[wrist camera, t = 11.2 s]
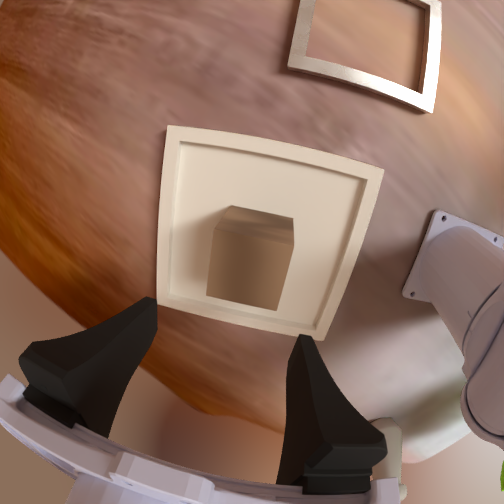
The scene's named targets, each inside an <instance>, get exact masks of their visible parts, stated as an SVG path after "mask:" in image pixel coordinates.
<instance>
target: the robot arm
mask: <svg viewBox="0 0 504 504" xmlns="http://www.w3.org/2000/svg"><path fill="white" fill-rule="evenodd" d="M442 216H444V219H443V220H442ZM494 238H495V239H494ZM503 244H504V238H503V237H502V236H501V235H498V234H496V233H494V232H492V231H490V230H488V229H485V228H483V227H481V226H478V225H476V224H474V223H471V222H469V221H467V220H464V219H462V218H459V217H457V216H455V215H452V214H449V213H447V212H444V211H442V210H435V211H434V213H433V215H432V218H431V221H430V224H429V227H428V230H427V232H426V235H425V238H424V240H423V243H422V246H421V248H420V251H419V253H418V256H417V258H416V261H415V263H414V265H413V268H412V270H411V272H410V275H409V277H408V279H407V281H406V283H405V286H404V288H403V290H402V295H403V296H404V297H405V298H409V299H414V300H419V301H424V302H429V303H432V304H433V306H434V307H435V309H436V310H437V312H438V313H439V315H440V317H441V318H442V320H443V321H444V323H445V325H446V326H447V328H448V330H449V331H450V333H451V335H452V336H453V338H454V340H455V342H456V343H457V345H458V347H459V349H460V350H461V352H462V354H463V356H464V358H465V362H464V365H463V367H462V370H463V372H464V374H465V376H466V378H467V380H468V381H467V382H466V384H465V385H464V387H463V390H462V393H461V400H460V404H461V411H462V414H463V417H464V419H465V421H466V423H467V425H468V426H469V428H470V429H471V430H472V431H473V432H474V433H475V434H476V435H477V436H478V437H480V438H481V439H483V440H485V441H488V442H491V443H493V444H495V445H497V446H499V447H500V448H501V449H503V451H504V250H503V249H502V247H503ZM411 292H413V294H411ZM157 330H158V327H157V299H153V298H150V297H147V296H146V297H145V298H143V299H141V300H140V301H138V302H137V303H135V304H133V305H132V306H130V307H129V308H127V309H125V310H124V311H122V312H120V313H119V314H117V315H115V316H114V317H112V318H110V319H108V320H106V321H104V322H103V323H100V324H98V325H96V326H94V327H92V328H89V329H87V330H84V331H81V332H78V333H75V334H72V335H69V336H65V337H61V338H57V339H51V340H45V341H36V342H32V343H31V344H30V345H29V346H28V348H27V349H26V350H25V351H24V352H23V353H22V354H21V355H20V357H19V365H20V367H21V369H22V371H23V373H24V375H25V376H26V378H27V380H28V382H29V385H28V387H27V388H26V386H25V385H24V384H23V383H21V382H20V381H19V380H17V379H16V378H15V377H13V376H12V375H11V374H7V376H6V377H5V378H4V379H3V380H2V382H1V383H0V423H1V424H2V426H3V427H4V428H5V429H6V430H7V431H8V432H10V433H11V434H12V435H13V436H14V437H16V438H17V439H18V440H19V441H21V442H22V443H23V444H24V445H26V446H27V447H28V448H30V449H31V450H32V451H33V452H35V453H36V454H38V455H39V456H40V457H41V458H43V459H44V460H46V461H47V462H48V463H50V464H52V465H53V466H54V467H56V468H57V469H59V470H61V471H62V472H64V473H65V474H67V475H68V476H70V477H71V478H73V479H75V480H76V481H75V483H74V485H73V487H72V490H71V492H70V494H69V496H68V498H67V500H66V502H65V504H401V502H400V494H399V486H398V478H397V477H392V478H383V479H376V480H372V481H370V476H371V475H372V474H373V471H372V467H374V466H375V465H376V464H378V463H379V462H380V461H382V460H383V459H384V458H385V457H386V456H387V454H388V449H387V443H386V439H385V435H384V434H383V433H382V432H381V431H379V430H378V429H377V428H376V427H374V426H373V425H372V424H370V423H369V422H368V421H367V420H366V419H365V418H364V417H363V416H362V415H361V414H360V413H359V412H358V411H357V410H356V409H355V408H354V407H353V406H352V405H351V403H350V402H349V401H348V400H347V399H346V397H345V396H344V395H343V393H342V392H341V391H340V389H339V388H338V386H337V385H336V383H335V382H334V380H333V378H332V377H331V375H330V373H329V371H328V370H327V368H326V366H325V364H324V362H323V360H322V358H321V356H320V354H319V351H318V349H317V347H316V345H315V342H314V340H313V338H312V336H310V335H304V334H299V336H298V338H297V341H296V343H295V346H294V348H293V351H292V353H291V356H290V358H289V361H288V367H287V376H286V427H285V435H284V442H283V449H282V455H281V460H280V466H279V471H278V476H277V480H276V484H267V483H259V482H251V481H245V480H239V479H234V478H228V477H223V476H218V475H213V474H209V473H205V472H201V471H197V470H193V469H189V468H186V467H182V466H179V465H176V464H172V463H169V462H166V461H163V460H160V459H157V458H154V457H151V456H148V455H146V454H143V453H140V452H138V451H135V450H132V449H130V448H127V447H125V446H122V445H120V444H118V443H116V442H114V441H111V440H109V439H108V437H109V433H110V430H111V427H112V423H113V420H114V418H115V415H116V412H117V409H118V406H119V404H120V401H121V399H122V396H123V394H124V392H125V389H126V387H127V385H128V383H129V381H130V379H131V377H132V375H133V374H134V372H135V370H136V369H137V367H138V365H139V364H140V362H141V360H142V359H143V357H144V355H145V354H146V352H147V350H148V349H149V347H150V345H151V343H152V341H153V339H154V337H155V334H156V332H157Z"/></svg>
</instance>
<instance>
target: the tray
mask: <svg viewBox="0 0 504 504" xmlns="http://www.w3.org/2000/svg"><path fill="white" fill-rule="evenodd" d="M383 174H384V169H382V168H380V167H377V166H373V165H370V164H367V163H364V162H361V161H357V160H354V159H350V158H347V157H343V156H340V155H336V154H332V153H329V152H325V151H321V150H317V149H313V148H309V147H304V146H300V145H296V144H291V143H287V142H282V141H277V140H272V139H267V138H262V137H256V136H251V135H245V134H239V133H233V132H226V131H219V130H212V129H204V128H196V127H187V126H177V125H168V127H167V135H166V142H165V151H164V159H163V169H162V179H161V190H160V204H159V219H158V241H157V304H159V305H163V306H166V307H170V308H173V309H177V310H181V311H184V312H188V313H192V314H196V315H200V316H204V317H208V318H212V319H216V320H220V321H224V322H229V323H233V324H237V325H242V326H246V327H251V328H255V329H260V330H265V331H270V332H275V333H280V334H285V335H290V336H296V337H298V336H299V334H304V335H310V336H312V338H313V340H319V341H324V339H325V336H326V334H327V332H328V330H329V327H330V325H331V323H332V320H333V318H334V316H335V313H336V311H337V309H338V306H339V304H340V301H341V299H342V296H343V294H344V291H345V289H346V286H347V284H348V281H349V279H350V276H351V273H352V271H353V268H354V265H355V263H356V260H357V257H358V254H359V251H360V249H361V246H362V243H363V240H364V237H365V234H366V231H367V228H368V225H369V222H370V218H371V215H372V212H373V209H374V206H375V202H376V199H377V195H378V192H379V188H380V185H381V181H382V178H383ZM231 205H233V206H238V207H243V208H248V209H253V210H258V211H263V212H267V213H272V214H277V215H281V216H286V217H290V218H293V223H294V249H293V253H292V257H291V261H290V265H289V268H288V272H287V276H286V279H285V283H284V287H283V290H282V294H281V297H280V301H279V305H278V308H277V311H273V310H268V309H263V308H258V307H254V306H249V305H245V304H240V303H236V302H231V301H227V300H222V299H218V298H214V297H210V296H206V289H207V280H208V271H209V263H210V255H211V246H212V239H213V231H214V228H215V226H216V225H217V224H218V222H219V221H220V220H221V218H222V217H223V215H224V214H225V213H226V211H227V210H228V209H229V207H230V206H231Z"/></svg>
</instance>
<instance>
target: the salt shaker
mask: <svg viewBox="0 0 504 504" xmlns="http://www.w3.org/2000/svg"><path fill="white" fill-rule="evenodd" d="M370 424H372V425H373V426H374V427H376V428H377V429H378V430H379V431H381V432H382V433H383V434H384V435H385V439H386V443H387V449H388V454H387V456H386V457H385V458H384V459H383V460H382V461H380V462H379V463H378V464H376V465H375V466H374V467H372V471H373V474H372V477H373V480H376V479H383V478H392V477H397V478H398V486H399V494H400V501H402V500H403V499H404V498H405V497H406V495H407V488H406V485H404V484H401V463H402V430H401V428H400V427H399V426H398V425H397V424H396V423H395V422H394V421H393V420H392V419H391V418H380V419H377V420H375V421H373V422H371V423H370Z"/></svg>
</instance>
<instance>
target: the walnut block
mask: <svg viewBox="0 0 504 504" xmlns="http://www.w3.org/2000/svg"><path fill="white" fill-rule="evenodd" d="M293 249H294V223H293V218H290V217H286V216H281V215H277V214H272V213H267V212H263V211H258V210H253V209H248V208H243V207H238V206H233V205H231V206H230V207H229V209H228V210H227V211H226V213H225V214H224V215H223V217H222V218H221V220H220V221H219V222H218V224H217V225H216V226H215V228H214V231H213V239H212V246H211V255H210V263H209V271H208V280H207V289H206V296H210V297H214V298H218V299H222V300H227V301H231V302H236V303H240V304H245V305H249V306H254V307H258V308H263V309H268V310H273V311H277V308H278V305H279V301H280V297H281V294H282V290H283V287H284V283H285V279H286V276H287V272H288V268H289V265H290V261H291V257H292V253H293Z"/></svg>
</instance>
